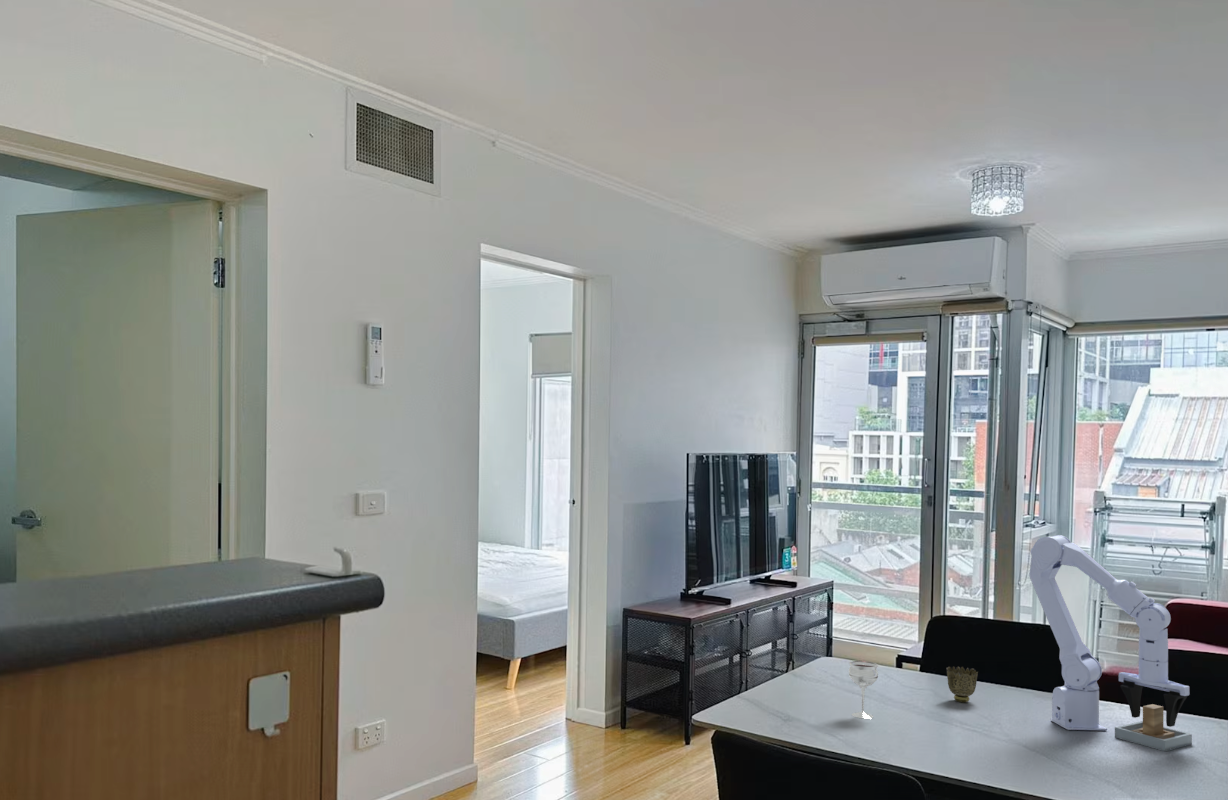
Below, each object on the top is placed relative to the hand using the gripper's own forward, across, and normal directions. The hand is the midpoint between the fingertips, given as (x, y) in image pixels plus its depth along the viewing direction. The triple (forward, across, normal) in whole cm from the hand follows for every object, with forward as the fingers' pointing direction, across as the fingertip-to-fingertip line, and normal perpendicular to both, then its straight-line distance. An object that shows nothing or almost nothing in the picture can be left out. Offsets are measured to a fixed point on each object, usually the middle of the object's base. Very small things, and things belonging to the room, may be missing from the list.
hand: (1153, 721), depth 211 cm
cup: (+4, +42, +11) cm, 43 cm away
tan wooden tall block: (+4, 0, 0) cm, 4 cm away
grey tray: (+4, 0, 0) cm, 4 cm away
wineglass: (+4, +44, +45) cm, 63 cm away
